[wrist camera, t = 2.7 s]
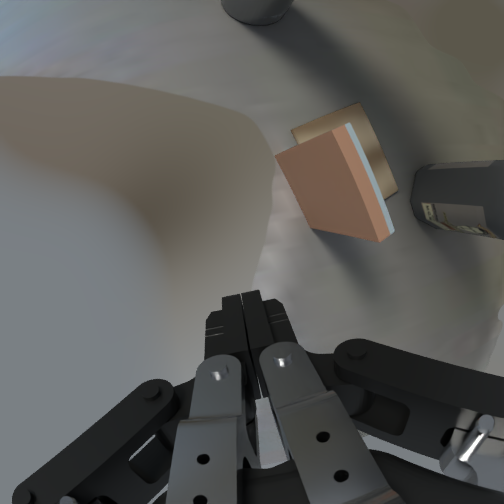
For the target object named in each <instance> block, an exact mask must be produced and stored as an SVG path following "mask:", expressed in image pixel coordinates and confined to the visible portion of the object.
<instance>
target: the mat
mask: <svg viewBox="0 0 504 504" xmlns="http://www.w3.org/2000/svg"><path fill="white" fill-rule="evenodd" d="M347 123H350V124H351V126H352V128H353V130H354V132H355V134H356V136H357V138H358V140H359V142H360V144H361V147H362V149H363V151H364V153H365V156H366V158H367V160H368V162H369V165H370V167H371V169H372V172H373V174H374V177H375V179H376V181H377V184H378V186H379V189H380V191H381V194H382V197H383V199H386V198H387V197H389V196H390V195H392V194H393V193H395V192H396V191H398V188H397V185H396V182H395V180H394V177H393V175H392V172H391V170H390V167H389V165H388V162H387V160H386V157H385V155H384V153H383V150H382V148H381V146H380V143H379V141H378V139H377V137H376V134H375V132H374V130H373V128H372V126H371V124H370V122H369V120H368V118H367V115H366V113H365V111H364V109H363V107H362V106H361V104H360V102H359V103H356V104H353V105H351V106H348V107H346V108H343V109H340V110H338V111H335V112H333V113H330V114H328V115H325V116H323V117H320V118H318V119H316V120H313V121H311V122H309V123H306V124H304V125H302V126H299V127H297V128H295V129H292V130H291V132H292V134H293V136H294V137H295V139H296V141H297V143H298V144H301V143H303V142H305V141H307V140H310V139H312V138H314V137H316V136H319V135H321V134H323V133H326V132H328V131H330V130H333V129H335V128H337V127H340V126H342V125H345V124H347Z"/></svg>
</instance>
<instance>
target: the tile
mask: <svg viewBox="0 0 504 504" xmlns="http://www.w3.org/2000/svg"><path fill="white" fill-rule="evenodd" d="M275 158H276V160H277V162H278V163H279V165H280V167H281V169H282V171H283V173H284V175H285V177H286V179H287V181H288V183H289V185H290V187H291V189H292V191H293V193H294V195H295V197H296V199H297V201H298V203H299V205H300V207H301V209H302V211H303V213H304V216H305V218H306V220H307V222H308V224H309V226H310V228H313V229H318V230H323V231H328V232H333V233H337V234H342V235H347V236H352V237H356V238H361V239H365V240H370V241H374V242H379V243H380V242H381V241H382V240H384V239H385V238H386V237H388V236H389V235H391V234H392V233H393V232H395V230H394V227H393V224H392V221H391V218H390V216H389V213H388V210H387V207H386V205H385V202H384V199H383V197H382V194H381V191H380V189H379V186H378V184H377V181H376V179H375V177H374V174H373V172H372V169H371V167H370V165H369V162H368V160H367V158H366V156H365V153H364V151H363V149H362V147H361V144H360V142H359V140H358V138H357V136H356V134H355V132H354V130H353V128H352V126H351V124H350V123H347V124H345V125H342V126H340V127H337V128H335V129H333V130H330V131H328V132H326V133H323V134H321V135H319V136H316V137H314V138H312V139H310V140H307V141H305V142H303V143H301V144H298V145H296V146H294V147H292V148H290V149H288V150H286V151H283V152H281V153H279V154H277V155H275Z"/></svg>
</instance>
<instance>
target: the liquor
mask: <svg viewBox="0 0 504 504" xmlns="http://www.w3.org/2000/svg"><path fill="white" fill-rule="evenodd" d="M410 202H411V205H412V208H413V212H414V215H415V216H416V217H417V218H418V219H420V220H422V221H423V222H425V223H427V224H429V225H431V226H432V227H434V228H436V229H443V230H449V231H455V232H462V233H468V234H474V235H480V236H485V237H491V238H497V239H502V240H504V160H493V161H471V162H455V163H441V164H428V165H426V166H425V167H423V168H422V169H420V170H418V172H417V173H416V176H415V181H414V186H413V191H412V195H411V200H410Z"/></svg>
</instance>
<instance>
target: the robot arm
mask: <svg viewBox="0 0 504 504" xmlns="http://www.w3.org/2000/svg"><path fill="white" fill-rule="evenodd" d="M293 1H294V0H221V3H222V6H223V8H224V9H225V11H226V12H227V13H228V14H229V15H230V16H232V17H233V18H235V19H237V20H239V21H241V22H244V23H248V24H253V25H267V24H271V23H274V22H276V21H278V20H280V19H281V18H282V16H283V15H284V14H285V12H286V11H287V9H288V8H289V6H290V5H291V3H292V2H293ZM241 295H242V300H241V296H240V294H237V295H231V296H226V297H222V310H219V311H214V312H211V314H210V315H209V316H208V318H207V319H206V331H205V332H206V333H205V336H206V337H205V356H204V361H203V362H202V363H201V364H200V365H199V367H198V368H197V371H196V376H195V378H193V379H191V380H190V381H188V382H185V383H183V384H180V385H178V386H175V387H173V386H172V385H171V383H170V382H168V381H166V380H163V379H153V380H149V381H147V382H144V383H142V384H141V385H140V386H138V387H137V388H136V389H135V390H134V391H132V392H131V393H130V394H129V395H128V396H127V397H125V398H124V399H123V400H122V401H121V402H120V403H119V404H117V405H116V406H115V407H114V408H113V409H111V410H110V411H109V412H108V413H107V414H106V415H104V416H103V417H102V418H101V419H100V420H98V421H97V422H96V423H95V424H94V425H92V426H91V427H90V428H89V429H88V430H87V431H85V432H84V433H83V434H82V435H80V436H79V437H78V438H77V439H76V440H75V441H73V442H72V443H71V444H69V446H67V447H66V448H65V449H63V450H62V451H61V452H60V453H58V454H57V455H56V456H55V457H54V458H52V459H51V460H50V461H49V462H47V463H46V464H45V465H44V466H42V467H41V468H40V469H39V470H37V471H36V472H35V473H33V474H32V475H31V476H30V477H29V478H27V479H26V480H25V481H23V482H22V483H21V484H19V485H18V486H17V487H16V489H15V490H14V493H13V496H12V504H147V503H148V502H149V501H150V500H151V499H152V498H154V496H155V495H156V494H158V493H159V492H160V491H161V490H162V489H163V488H164V487H165V486H166V484H167V483H168V482H169V483H168V490H167V491H166V492H164V493H163V494H162V495H161V496H159V497H158V498H157V499H156V500H155V501H154V502H153V504H504V377H500V376H496V375H492V374H488V373H484V372H480V371H476V370H472V369H468V368H464V367H460V366H456V365H453V364H449V363H445V362H441V361H438V360H434V359H431V358H427V357H423V356H420V355H416V354H413V353H410V352H406V351H403V350H399V349H396V348H393V347H389V346H386V345H383V344H379V343H376V342H373V341H370V340H366V339H350V340H347V341H345V342H343V343H341V344H339V345H338V346H337V347H336V349H335V351H334V354H315V353H310V352H308V351H306V350H304V348H303V347H302V346H300V345H299V344H298V342H297V339H296V337H295V334H294V331H293V329H292V326H291V324H290V321H289V320H288V316H287V314H286V311H285V309H284V306H283V304H282V303H280V302H279V301H278V300H276V299H270V300H266V301H262V298H261V295H260V291H259V290H254V291H250V292H246V293H241ZM242 301H243V304H242ZM243 307H244V309H243ZM257 376H258V378H257ZM258 380H259V383H258ZM259 384H260V388H261V391H262V395H263V398H265V397H268V398H269V402H270V406H271V410H272V414H273V417H274V420H275V424H276V427H277V430H278V433H279V436H280V439H281V442H282V445H283V448H284V451H285V454H286V457H287V460H288V461H286V462H284V463H282V464H280V465H277V466H275V467H273V468H268V469H262V468H261V463H260V453H259V437H258V421H257V415H256V403H255V400H256V399H261V394H260V388H259ZM357 429H358V430H360V431H362V432H365V433H367V434H369V435H372V436H374V437H377V438H379V439H382V440H384V441H387V442H389V443H392V444H394V445H397V446H400V447H402V448H405V449H408V450H411V451H413V452H417V453H419V454H422V455H425V456H428V457H431V458H434V459H437V460H439V464H440V468H441V470H442V472H443V473H444V475H443V474H440V473H437V472H434V471H432V470H429V469H426V468H423V467H421V466H418V465H416V464H413V463H410V462H408V461H406V460H404V459H401V458H399V457H396V456H394V455H391V454H389V453H385V452H382V451H377V450H371V449H368V448H367V446H366V444H365V443H364V441H363V439H362V437H361V436H360V434H359V432H358V430H357ZM152 435H155V437H154V438H153V439H152V440H151V441H150V442H149V443H148V444H147V445H146V446H145V447H144V448H143V449H142V450H141V451H140V452H139V453H138V454H136V456H134V457H133V458H132V459H131V460H130V461H129V458H130V457H131V455H133V454H134V453H135V452H136V451H137V450H138V449H139V448H140V447H141V446H142V445H143V444H144V443H145V442H146V441H147V440H148V439H149V438H150V437H152Z"/></svg>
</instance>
